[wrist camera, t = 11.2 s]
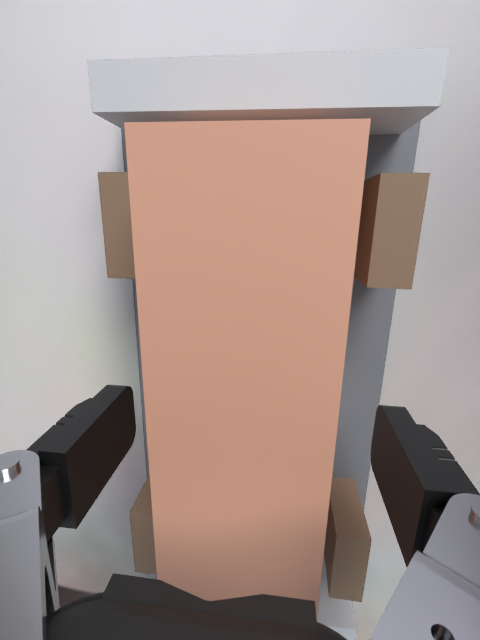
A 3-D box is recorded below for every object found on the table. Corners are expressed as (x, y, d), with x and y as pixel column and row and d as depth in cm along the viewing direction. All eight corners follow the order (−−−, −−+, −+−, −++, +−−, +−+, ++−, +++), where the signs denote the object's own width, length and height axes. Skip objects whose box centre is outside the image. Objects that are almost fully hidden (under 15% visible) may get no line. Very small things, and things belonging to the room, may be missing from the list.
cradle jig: (413, 101, 12) (475, 45, 8) (350, 559, 18) (367, 653, 14) (131, 106, 13) (67, 61, 9) (159, 535, 19) (127, 617, 15)
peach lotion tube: (330, 166, 12) (374, 116, 6) (300, 535, 16) (309, 711, 11) (197, 166, 12) (119, 121, 6) (204, 524, 17) (162, 686, 11)
